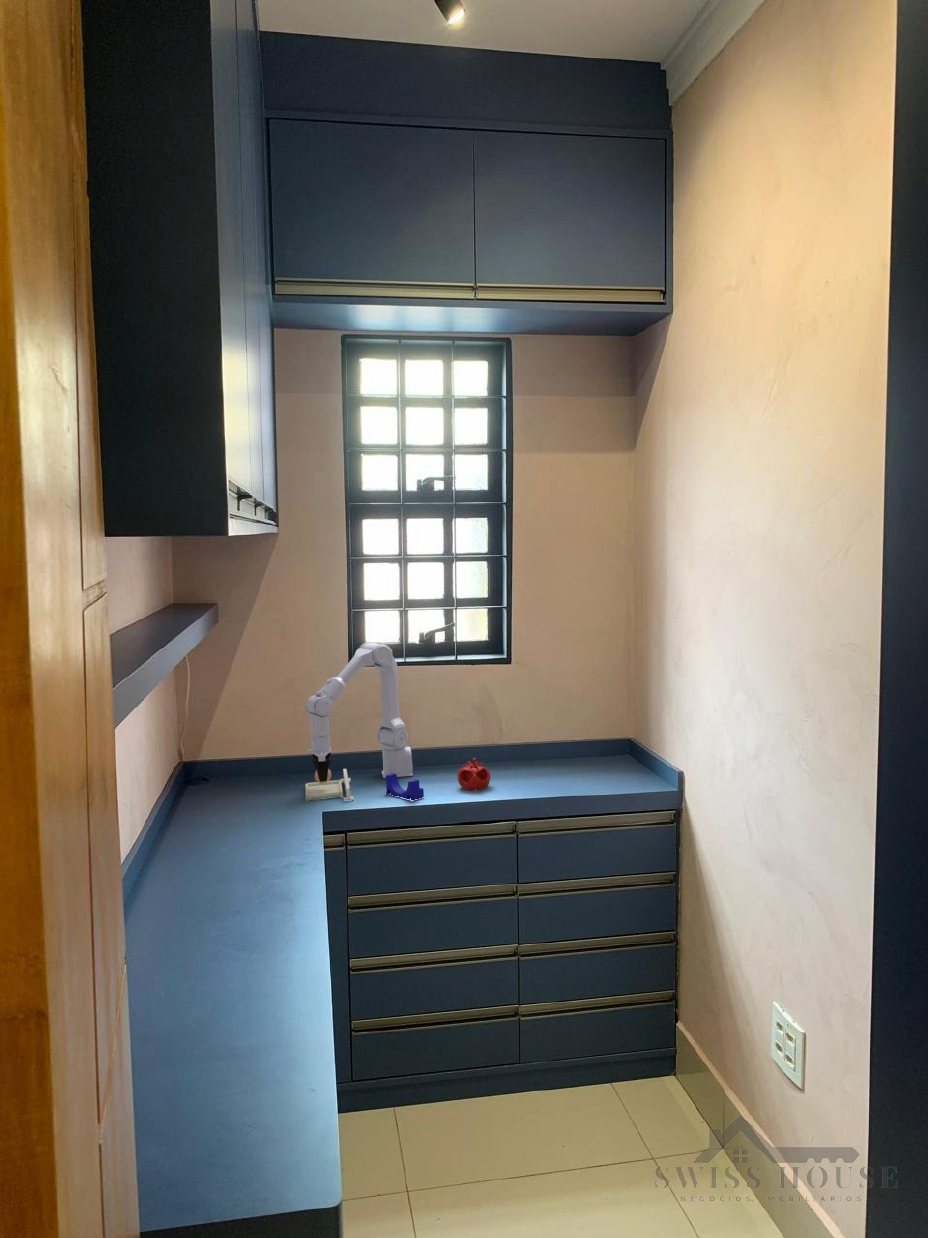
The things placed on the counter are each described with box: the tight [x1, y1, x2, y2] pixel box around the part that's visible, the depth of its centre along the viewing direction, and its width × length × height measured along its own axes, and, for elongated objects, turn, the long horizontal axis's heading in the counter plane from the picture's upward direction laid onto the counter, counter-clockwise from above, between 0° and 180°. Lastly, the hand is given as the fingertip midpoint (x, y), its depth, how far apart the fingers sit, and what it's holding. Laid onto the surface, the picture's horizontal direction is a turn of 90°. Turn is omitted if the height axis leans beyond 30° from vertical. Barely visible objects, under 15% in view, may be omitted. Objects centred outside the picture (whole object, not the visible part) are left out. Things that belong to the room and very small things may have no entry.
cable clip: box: [385, 773, 425, 800], centre depth 261 cm, size 12×4×6 cm, turn 43°
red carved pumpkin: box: [456, 757, 491, 792], centre depth 265 cm, size 10×10×9 cm
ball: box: [314, 768, 332, 783], centre depth 268 cm, size 5×5×5 cm
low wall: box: [340, 768, 355, 801], centre depth 269 cm, size 3×22×4 cm, turn 10°
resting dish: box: [305, 779, 344, 802], centre depth 268 cm, size 11×13×2 cm
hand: (323, 778), depth 268 cm, fingers closed on ball, 5 cm apart
